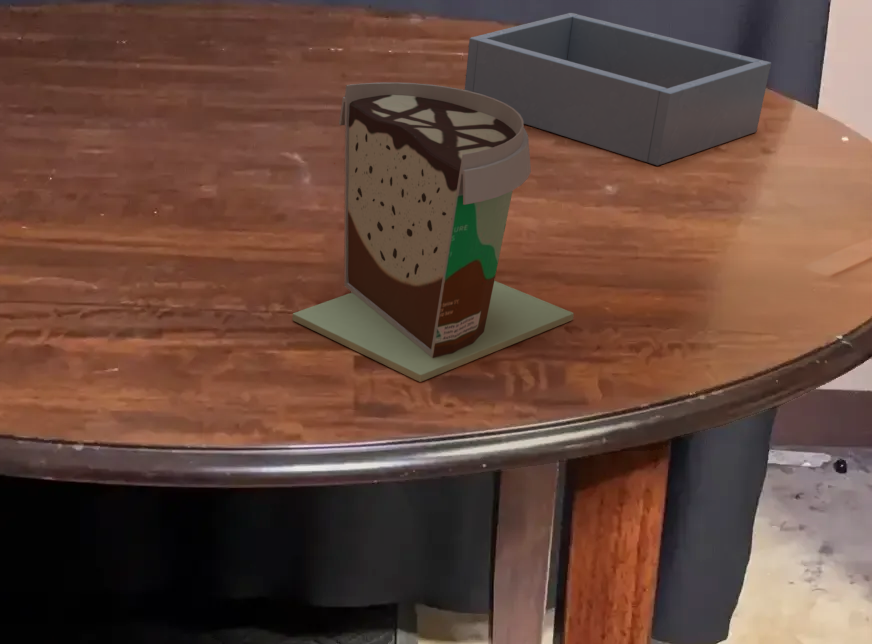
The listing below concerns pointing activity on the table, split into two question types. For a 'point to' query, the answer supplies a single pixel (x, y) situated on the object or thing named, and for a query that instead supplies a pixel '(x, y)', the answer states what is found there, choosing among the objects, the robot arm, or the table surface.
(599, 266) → the table surface
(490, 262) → the food container
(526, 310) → the mat
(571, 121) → the box
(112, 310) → the table surface
